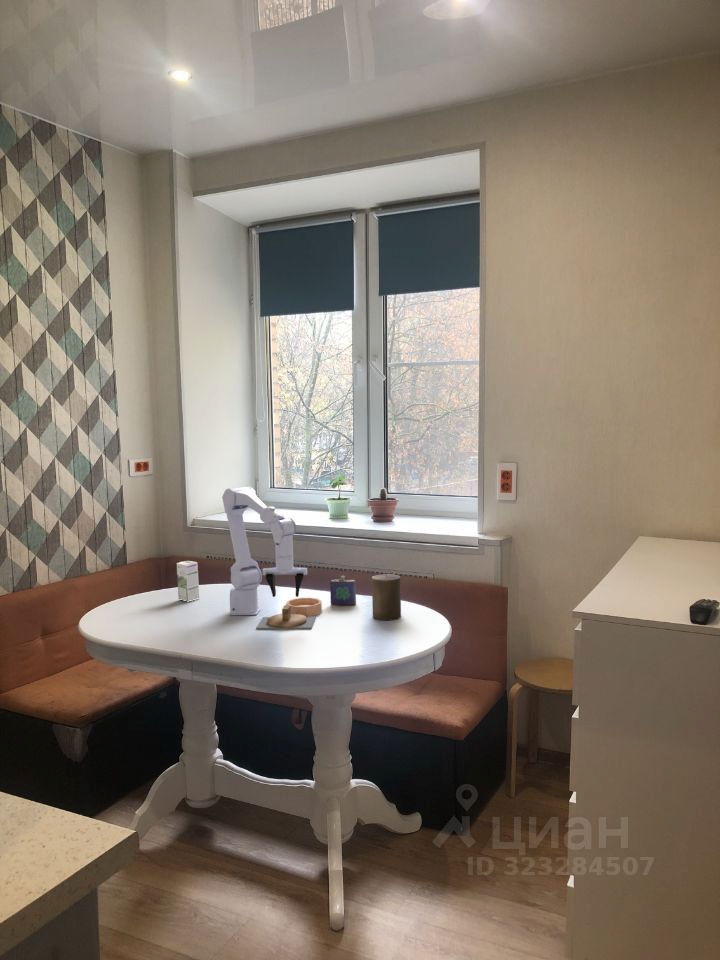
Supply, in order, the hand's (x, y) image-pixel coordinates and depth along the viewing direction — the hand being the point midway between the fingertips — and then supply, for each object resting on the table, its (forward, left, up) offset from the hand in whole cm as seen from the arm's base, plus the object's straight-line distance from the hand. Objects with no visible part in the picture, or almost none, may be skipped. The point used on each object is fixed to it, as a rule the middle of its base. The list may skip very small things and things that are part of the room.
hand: (285, 596), depth 240 cm
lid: (0, 0, -9) cm, 9 cm away
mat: (0, 0, -9) cm, 9 cm away
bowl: (+4, +14, -9) cm, 17 cm away
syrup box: (-42, +31, -10) cm, 53 cm away
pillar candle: (+33, +8, -10) cm, 35 cm away
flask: (+17, +23, -10) cm, 30 cm away
